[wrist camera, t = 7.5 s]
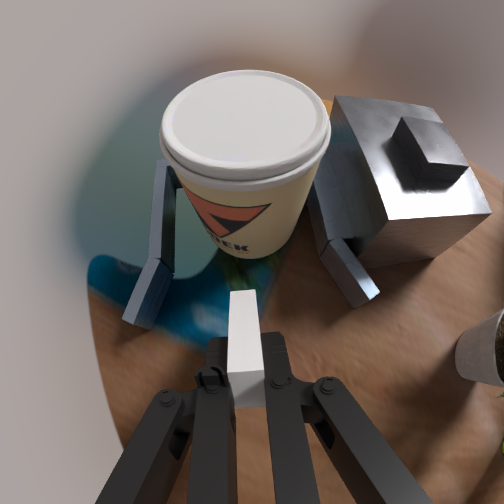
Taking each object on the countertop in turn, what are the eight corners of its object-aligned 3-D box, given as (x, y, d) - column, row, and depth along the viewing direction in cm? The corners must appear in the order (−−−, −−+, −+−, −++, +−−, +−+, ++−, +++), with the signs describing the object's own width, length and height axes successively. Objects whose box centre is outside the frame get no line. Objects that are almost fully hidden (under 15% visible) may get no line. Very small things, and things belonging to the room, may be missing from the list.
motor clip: (443, 289, 21) (524, 243, 10) (141, 330, 20) (53, 300, 10) (393, 152, 27) (429, 79, 16) (150, 170, 26) (111, 89, 16)
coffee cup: (177, 221, 24) (126, 121, 13) (249, 161, 26) (244, 55, 15) (251, 292, 21) (243, 215, 10) (324, 216, 24) (364, 112, 12)
